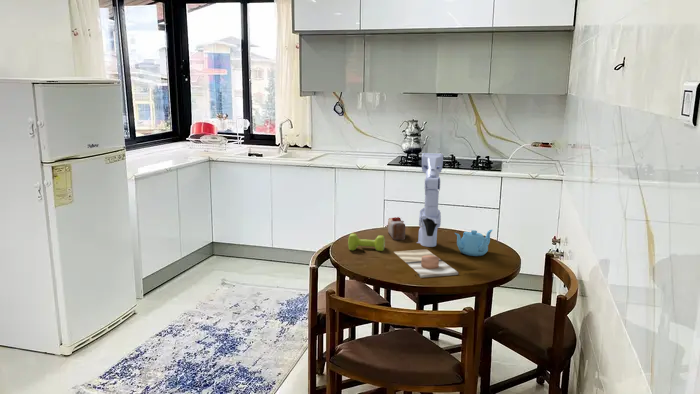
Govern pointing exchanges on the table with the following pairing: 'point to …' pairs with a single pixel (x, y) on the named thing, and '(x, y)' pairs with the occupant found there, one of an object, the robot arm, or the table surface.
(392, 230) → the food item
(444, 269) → the board
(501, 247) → the table surface
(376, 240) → the dumbbell
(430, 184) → the robot arm
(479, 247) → the teapot
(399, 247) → the table surface
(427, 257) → the puck
